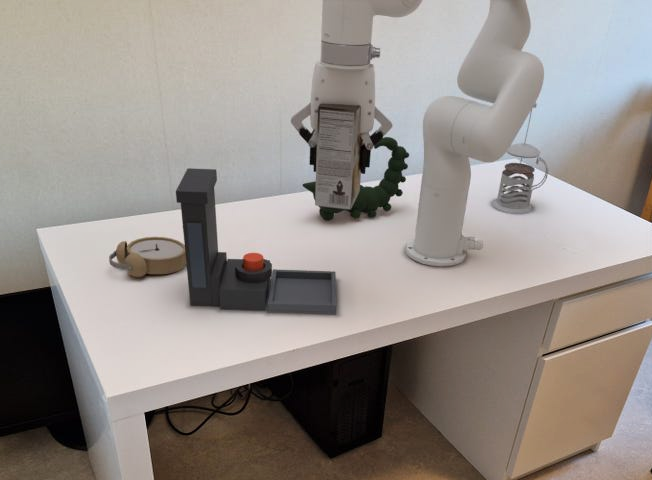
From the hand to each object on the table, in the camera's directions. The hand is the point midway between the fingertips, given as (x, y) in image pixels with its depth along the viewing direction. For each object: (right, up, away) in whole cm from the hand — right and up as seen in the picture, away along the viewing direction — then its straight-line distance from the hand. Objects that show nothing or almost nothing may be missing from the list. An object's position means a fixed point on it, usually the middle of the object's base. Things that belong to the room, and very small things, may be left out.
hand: (339, 169), depth 110 cm
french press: (+44, +7, +55) cm, 71 cm away
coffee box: (0, -4, +3) cm, 5 cm away
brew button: (-15, -15, +10) cm, 24 cm away
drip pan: (-7, -20, +13) cm, 25 cm away
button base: (-17, -19, +13) cm, 29 cm away
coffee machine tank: (-25, -19, +13) cm, 34 cm away
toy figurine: (+3, +2, +46) cm, 46 cm away
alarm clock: (-37, -13, +21) cm, 45 cm away
